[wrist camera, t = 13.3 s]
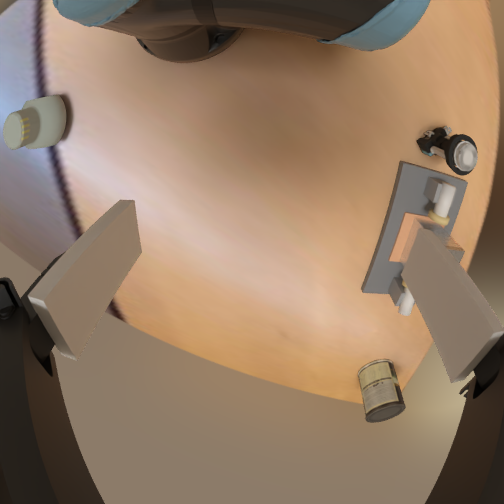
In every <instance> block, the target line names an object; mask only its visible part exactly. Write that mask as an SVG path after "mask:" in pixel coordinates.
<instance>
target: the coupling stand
mask: <svg viewBox="0 0 504 504" xmlns="http://www.w3.org/2000/svg"><path fill="white" fill-rule="evenodd" d="M467 184H468V182H466V181H465V180H462V179H460V178H457V177H454V176H451V175H448V174H445V173H441V172H438V171H435V170H432V169H428V168H425V167H421V166H418V165H414V164H411V163H407V162H403V161H400V164H399V168H398V172H397V176H396V181H395V185H394V188H393V192H392V196H391V200H390V203H389V207H388V210H387V214H386V217H385V221H384V224H383V227H382V230H381V234H380V237H379V240H378V243H377V246H376V249H375V252H374V255H373V258H372V261H371V263H370V266H369V269H368V272H367V274H366V277H365V280H364V282H363V285H362V287H361V290H362V292H363V293H378V294H390V296H391V298H392V300H393V302H394V304H395V306H400V307H399V310H398V312H399V313H400V314H402V315H406V316H408V315H410V314H411V310H412V307H413V305H414V304H415V300H414V298H413V297H412V295H411V293H410V291H409V289H408V287H407V285H406V284H405V282H404V280H403V278H402V276H401V273H402V271H403V269H404V266H403V265H402V263H401V261H400V257H401V254H402V252H403V249H404V246H405V244H406V241H407V238H408V235H409V232H410V229H411V227H412V224H413V220H414V218H419V219H424V220H430V221H434V222H436V223H438V224H440V225H441V226H442V227H443V228H444V229H445V230H446V231H447V233H448V234H449V235H450V234H451V231H452V229H453V226H454V223H455V220H456V218H457V215H458V212H459V209H460V206H461V203H462V200H463V197H464V194H465V190H466V187H467Z"/></svg>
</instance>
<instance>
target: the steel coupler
mask: <svg viewBox="0 0 504 504" xmlns="http://www.w3.org/2000/svg"><path fill="white" fill-rule="evenodd" d="M419 228H421V229H426V230H431V231H432V232H433V233H434V234H435V235H436V237H437V238H438V239H439V240H440V241H441V242H442V243H443V245H444V246H445V247H446V248H447V249H448V250H449V252H450V253H451V254H452V255H453V256H454V258H455V259H456V260H457V261H458V263H460V261H461V259H462V257H463V255H464V252H465V251H464V250H463V249H462V248H461V247H460V245H459V244H458V243H457V242H456V241H455V240H454V239H453V238H452V237H451V236H450V235H449V234H448V233H447V231H446V230H445V229H444V228H443V227H442V226H441V225H440V224H438V223H436V222H434V221H430V220H424V219H419V218H414V220H413V224H412V227H411V229H410V232H409V235H408V238H407V241H406V244H405V246H404V249H403V252H402V254H401V257H400V261H401V263H402V265H403V266H405V264H406V261H407V259H408V257H409V254H410V252H411V249H412V246H413V244H414V241H415V238H416V236H417V233H418V230H419Z"/></svg>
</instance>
